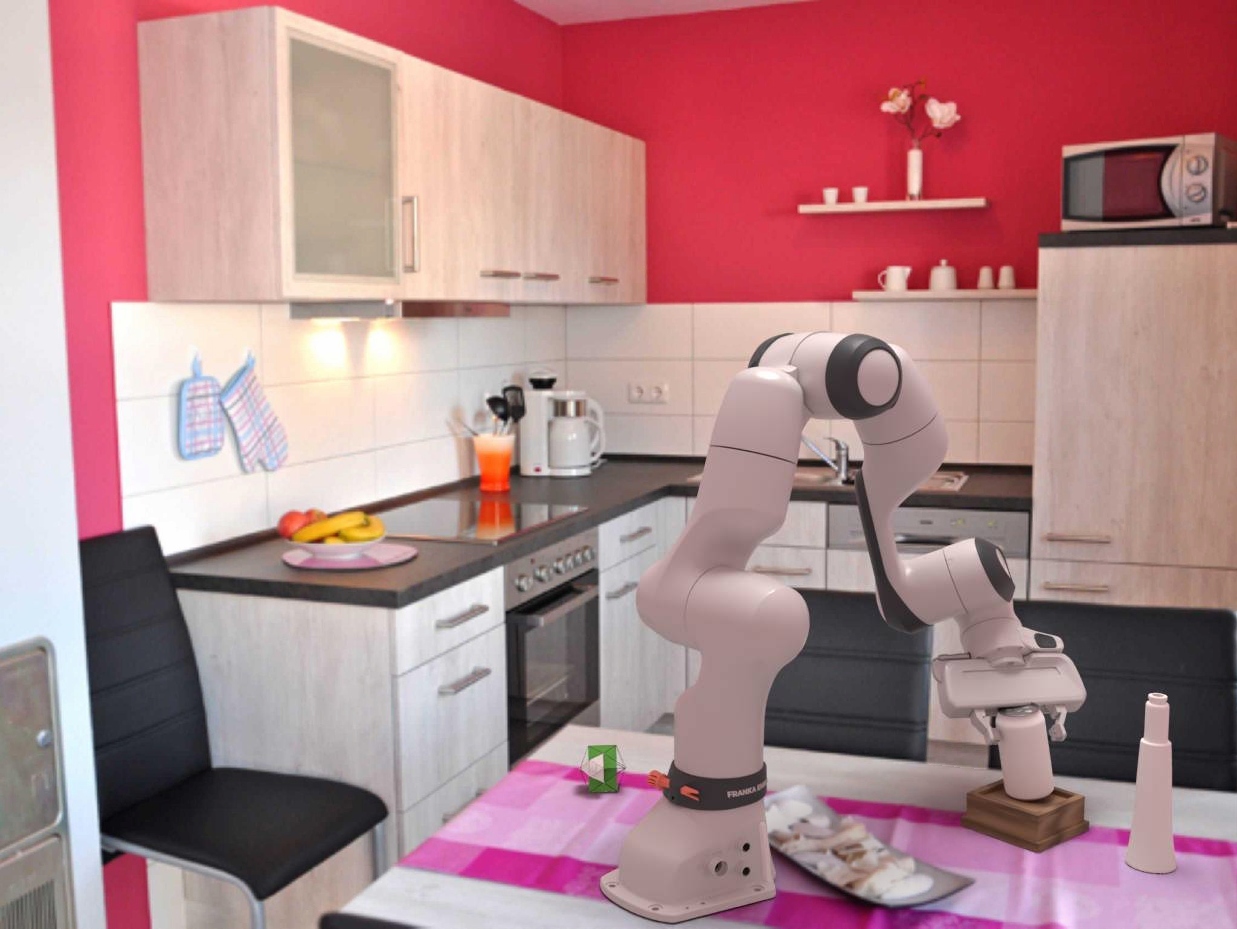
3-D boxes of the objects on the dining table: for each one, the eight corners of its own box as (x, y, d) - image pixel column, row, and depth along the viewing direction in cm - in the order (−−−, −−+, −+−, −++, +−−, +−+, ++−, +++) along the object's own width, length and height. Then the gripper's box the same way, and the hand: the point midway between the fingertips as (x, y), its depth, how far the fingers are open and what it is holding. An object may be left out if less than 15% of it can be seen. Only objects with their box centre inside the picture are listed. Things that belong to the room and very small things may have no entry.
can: (1059, 798, 175) (1047, 713, 174) (1010, 804, 176) (998, 719, 174) (1048, 779, 182) (1037, 696, 180) (1001, 784, 183) (989, 703, 181)
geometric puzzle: (578, 763, 198) (578, 732, 192) (623, 762, 198) (625, 731, 193) (579, 805, 193) (580, 775, 187) (626, 804, 193) (628, 773, 188)
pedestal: (1037, 853, 170) (1039, 818, 169) (960, 825, 179) (961, 792, 178) (1089, 829, 177) (1090, 796, 177) (1012, 804, 186) (1013, 772, 186)
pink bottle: (1114, 858, 168) (1121, 691, 165) (1151, 851, 170) (1159, 686, 168) (1148, 877, 162) (1156, 704, 160) (1187, 869, 164) (1195, 699, 162)
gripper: (933, 643, 181) (961, 734, 173) (1072, 637, 184) (1105, 726, 176) (920, 666, 186) (946, 756, 178) (1055, 660, 189) (1087, 747, 181)
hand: (1027, 741), depth 177 cm, fingers open, 8 cm apart
